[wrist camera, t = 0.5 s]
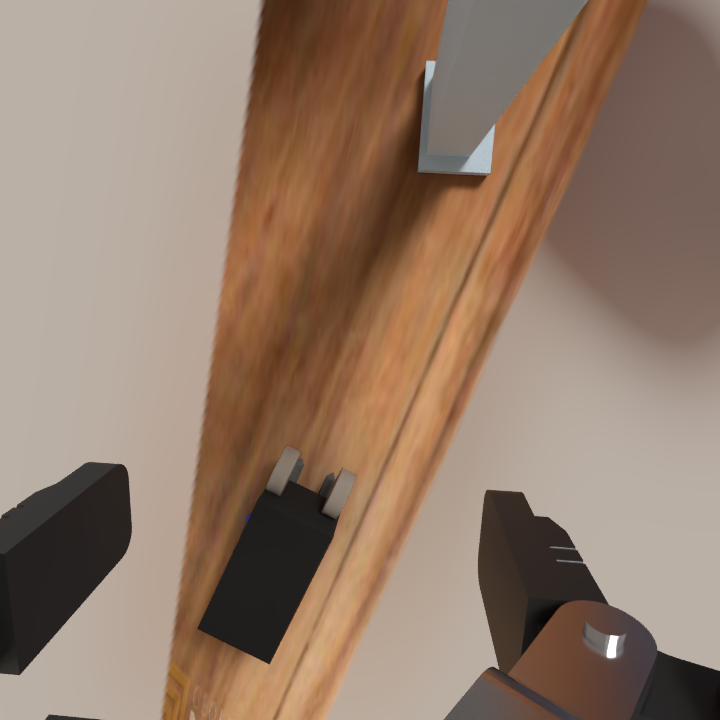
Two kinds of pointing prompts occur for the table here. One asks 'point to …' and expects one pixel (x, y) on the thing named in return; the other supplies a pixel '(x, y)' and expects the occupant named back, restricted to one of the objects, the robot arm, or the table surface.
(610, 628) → the robot arm
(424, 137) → the post
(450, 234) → the table surface
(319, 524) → the figurine character
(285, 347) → the table surface
